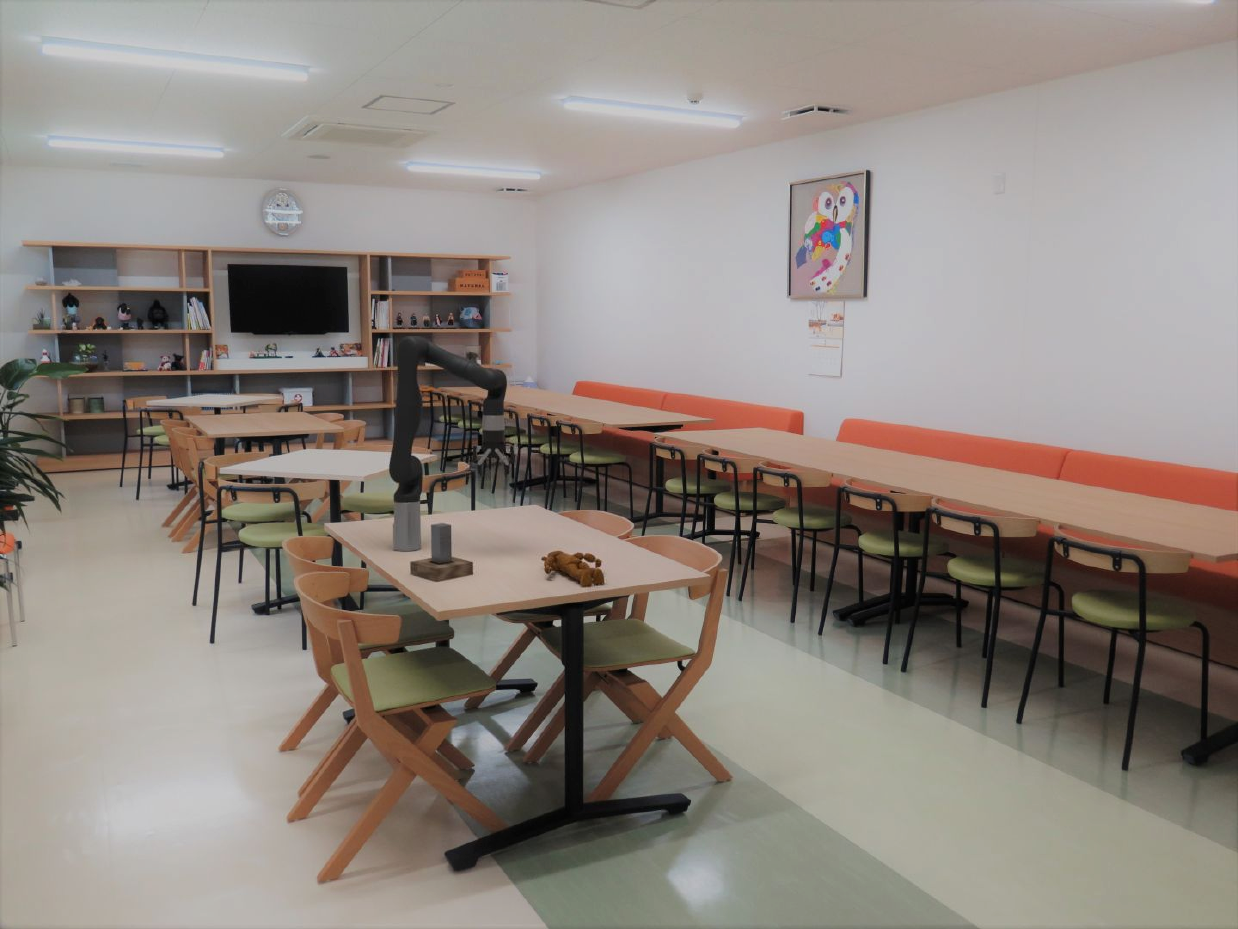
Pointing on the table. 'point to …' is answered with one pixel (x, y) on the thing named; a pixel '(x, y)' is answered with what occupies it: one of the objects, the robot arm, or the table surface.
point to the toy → (575, 566)
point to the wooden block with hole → (441, 569)
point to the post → (441, 544)
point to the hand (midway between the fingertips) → (493, 475)
